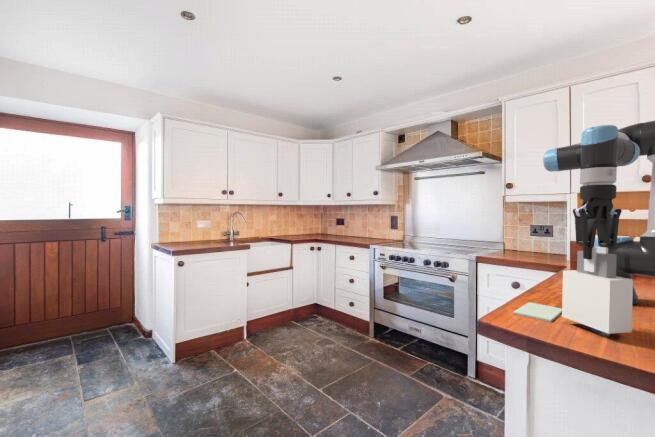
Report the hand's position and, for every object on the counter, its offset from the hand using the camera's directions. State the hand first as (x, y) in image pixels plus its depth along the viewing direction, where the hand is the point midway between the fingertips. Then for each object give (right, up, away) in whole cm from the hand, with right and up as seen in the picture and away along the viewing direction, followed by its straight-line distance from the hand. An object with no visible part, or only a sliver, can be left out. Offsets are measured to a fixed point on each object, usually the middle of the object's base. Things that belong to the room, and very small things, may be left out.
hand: (595, 270), depth 86 cm
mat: (-5, -16, +16) cm, 23 cm away
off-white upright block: (0, -15, 0) cm, 15 cm away
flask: (0, -17, 0) cm, 17 cm away
